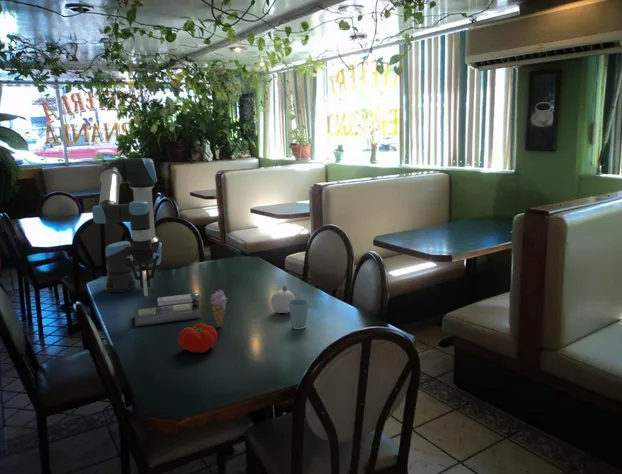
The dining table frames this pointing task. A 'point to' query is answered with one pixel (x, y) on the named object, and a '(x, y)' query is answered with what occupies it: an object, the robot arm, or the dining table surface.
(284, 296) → the ornament
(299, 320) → the cup
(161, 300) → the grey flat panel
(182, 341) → the tomato
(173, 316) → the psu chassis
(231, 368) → the dining table surface
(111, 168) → the robot arm
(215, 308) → the ice cream cone
